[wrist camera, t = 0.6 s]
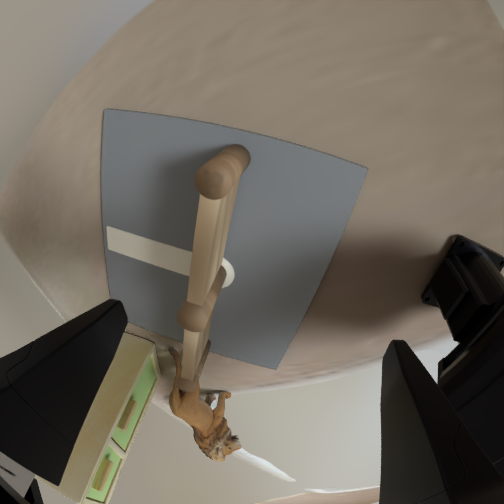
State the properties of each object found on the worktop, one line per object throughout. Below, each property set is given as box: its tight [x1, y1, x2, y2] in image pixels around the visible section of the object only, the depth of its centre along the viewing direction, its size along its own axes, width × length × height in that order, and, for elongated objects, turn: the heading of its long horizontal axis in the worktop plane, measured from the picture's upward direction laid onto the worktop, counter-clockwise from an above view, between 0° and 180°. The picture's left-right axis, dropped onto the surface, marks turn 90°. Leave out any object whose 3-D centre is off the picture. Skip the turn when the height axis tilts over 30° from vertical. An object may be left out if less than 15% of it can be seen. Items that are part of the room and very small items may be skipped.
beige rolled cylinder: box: [187, 144, 251, 306], centre depth 17 cm, size 2×9×5 cm, turn 167°
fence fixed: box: [175, 265, 227, 392], centre depth 23 cm, size 2×11×6 cm, turn 167°
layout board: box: [101, 109, 368, 370], centre depth 23 cm, size 18×22×1 cm
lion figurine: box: [168, 347, 241, 461], centre depth 29 cm, size 15×5×9 cm, turn 30°
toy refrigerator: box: [35, 332, 161, 504], centre depth 24 cm, size 8×7×21 cm
